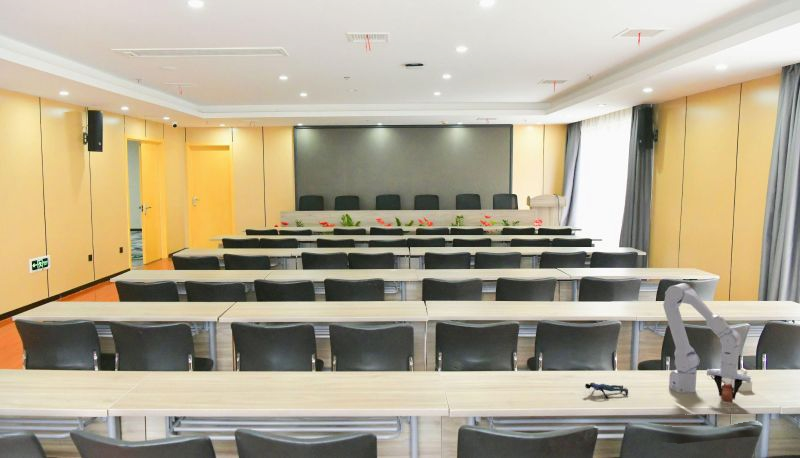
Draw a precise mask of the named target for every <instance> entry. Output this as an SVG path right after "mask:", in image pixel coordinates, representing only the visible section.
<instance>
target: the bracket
mask: <svg viewBox="0 0 800 458" xmlns="http://www.w3.org/2000/svg"><path fill="white" fill-rule="evenodd" d="M710 370H720V368H711V369H710ZM737 373H738V374H742V375H746V376H748V370H747V369H745V368H743V367H741V368H740V369H739V371H738V372H737ZM711 376H712V375H710V377H711ZM712 377H714V376H712ZM712 377H711V378H712ZM722 382H724V383H729V384H731V385H732V379H729V378H723V377H722Z"/></svg>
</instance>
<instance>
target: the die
mask: <svg viewBox="0 0 800 458" xmlns="http://www.w3.org/2000/svg"><path fill="white" fill-rule="evenodd" d="M734 382H735V380H734V379H732V387H733V388H734ZM752 390H753V381H752V380H751V381H750V383H748V382H745V381H742V385H741V386H740V388H739V389H738V391H739V392H750V391H751V392H752Z"/></svg>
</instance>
